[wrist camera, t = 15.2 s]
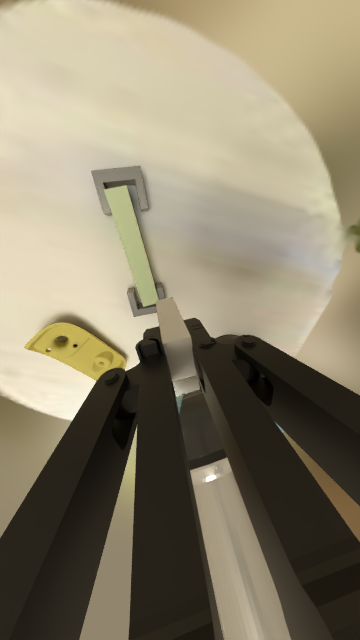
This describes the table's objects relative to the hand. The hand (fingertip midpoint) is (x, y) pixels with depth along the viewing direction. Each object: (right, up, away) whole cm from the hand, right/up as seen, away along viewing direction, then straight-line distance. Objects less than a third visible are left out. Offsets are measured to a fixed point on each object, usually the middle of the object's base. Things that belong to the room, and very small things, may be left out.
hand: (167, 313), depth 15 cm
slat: (-8, +13, +20) cm, 25 cm away
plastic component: (-22, -7, +28) cm, 37 cm away
